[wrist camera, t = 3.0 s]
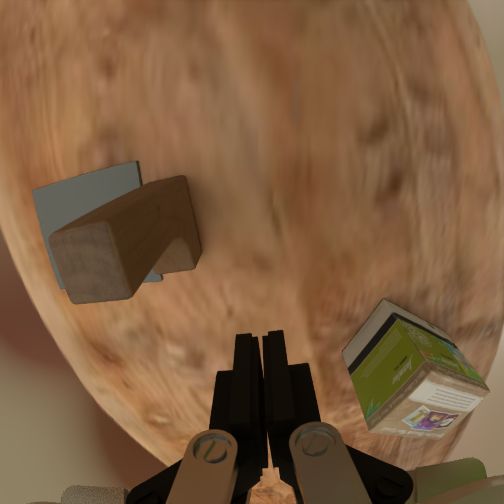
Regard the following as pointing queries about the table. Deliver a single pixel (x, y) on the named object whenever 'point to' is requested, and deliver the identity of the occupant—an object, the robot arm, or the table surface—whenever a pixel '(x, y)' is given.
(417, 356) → the tea box
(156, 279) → the mat
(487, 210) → the table surface
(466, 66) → the table surface
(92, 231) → the wooden block
